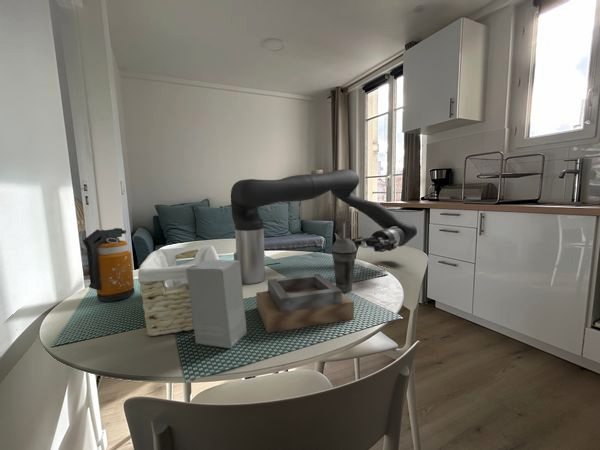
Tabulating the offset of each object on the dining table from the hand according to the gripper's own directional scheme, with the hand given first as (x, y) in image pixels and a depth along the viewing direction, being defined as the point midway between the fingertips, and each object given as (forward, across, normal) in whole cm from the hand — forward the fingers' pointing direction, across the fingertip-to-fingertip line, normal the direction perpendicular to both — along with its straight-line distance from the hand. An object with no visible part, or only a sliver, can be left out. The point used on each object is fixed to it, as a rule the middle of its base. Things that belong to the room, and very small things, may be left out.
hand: (363, 246), depth 92 cm
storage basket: (+49, -21, +11) cm, 55 cm away
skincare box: (+51, -3, +11) cm, 53 cm away
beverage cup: (+11, 0, +11) cm, 16 cm away
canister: (+58, -47, +11) cm, 75 cm away
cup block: (+31, +1, +11) cm, 33 cm away
